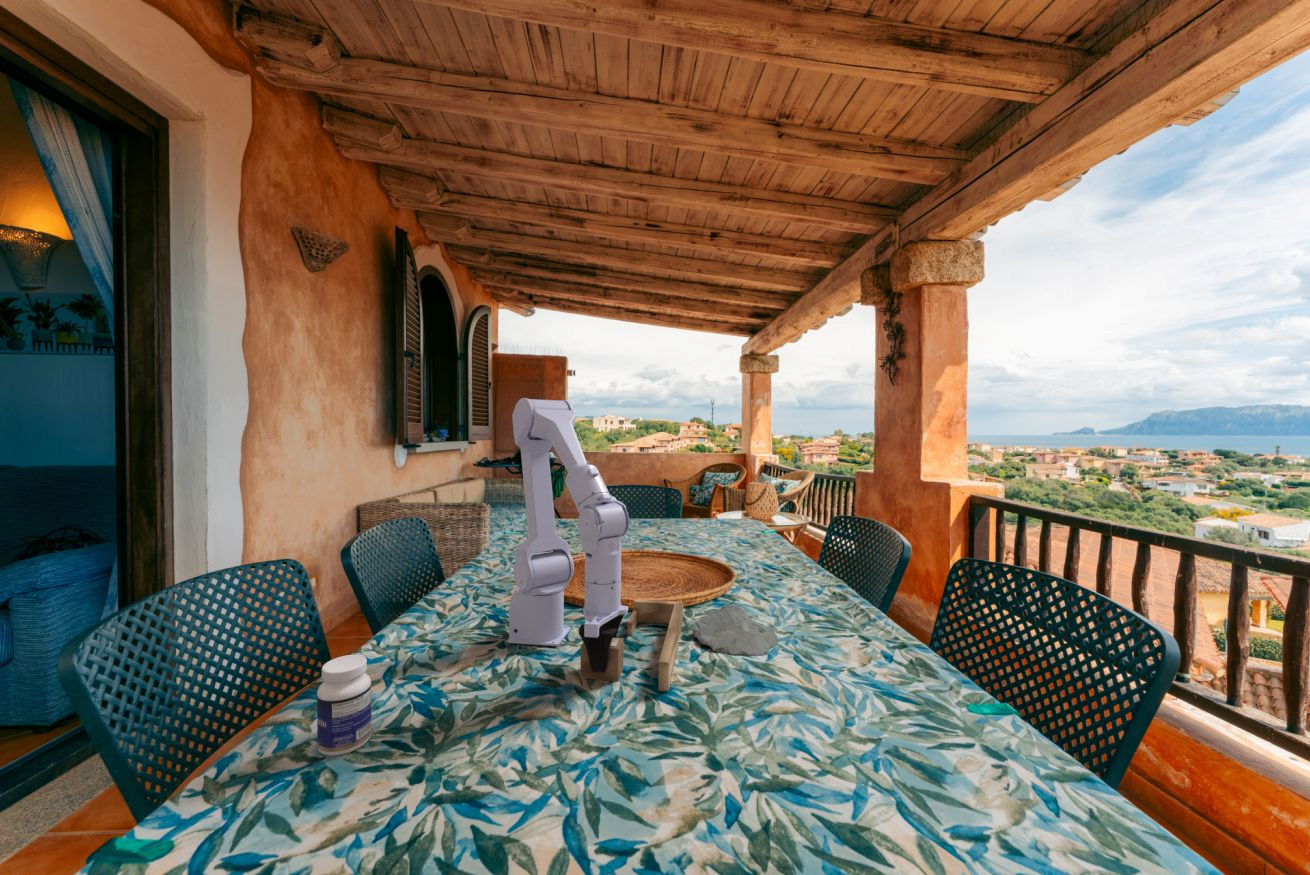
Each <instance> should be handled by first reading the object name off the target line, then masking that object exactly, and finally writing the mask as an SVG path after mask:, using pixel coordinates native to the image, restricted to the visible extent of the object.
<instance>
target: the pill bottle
mask: <svg viewBox="0 0 1310 875" xmlns="http://www.w3.org/2000/svg"><path fill="white" fill-rule="evenodd" d="M367 669H368V664H367V658H366V656H365V655H362V654H347V655H342V656H338V657H336V658H332V659H330V660H329V661H326V663H324V664H323V665H322V668H321V679H322V680H323V682H322V683H321V684H320V685H319V686H318V689H317V692H316V707H317V708H316V719H317V720H316V723H317V724H316V726H317V728H316V730H317V732H316V733H317V734H316V736H317V737H316V738H317V740H316V742H317V746H316V748H317V750H318V751H319V753H321V754H323V755H324V756H329V757H332V756H333V757H334V756H341V755H345V754H349V753H352V752H353V751H356V750H358V749H360V748H361V747H362V746H364V745H366V744H367V743H368V741H369V739H370V738H371V737H372V736H371V735H372V732H373V731H372V727H373V724H372V720H373V719H372V679H371V677H370V676H369V675H368V674H367V673H365V672H366V671H367Z"/></svg>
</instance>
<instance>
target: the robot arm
mask: <svg viewBox="0 0 1310 875" xmlns="http://www.w3.org/2000/svg"><path fill="white" fill-rule="evenodd" d="M511 417H512V428H513V430H512V432H513V438H514V444H515V445H516V446H517V447H519V448H520V457H521V467H522V469H521V470H522V477H523V478H522V479H523V489H524V490H523V491H524V502H525V512H526V525H527V535H528V536H527V538H526V539H525V540H524V541H523V542H522V543H521V544H520V545H519V546H518V547H517V548H516V550H515V551H514V565H513V578H514V582H515V585H516V586H517V588H515V589H514V590H513V592H512V594H511V597H510V600H509V607H508V608H509V609H508V610H509V611H508V612H509V613H508V614H509V617H508V618H509V619H508V622H509V623H508V627H509V629H508V630H509V631H508V632H509V634H508V639H507V643H509V644H518V645H519V644H521V645H532V646H533V645H534V646H535V645H536V646H549V647H558V646H559V645H560V644H561V642H562V641H563V640H564V638H566V636H567V635H568V633H569V632H570V631H571V627H570V626H566V625H564V615H565V614H564V612H565V610H564V609H565V607H564V604H565V603H564V602H565V598H564V596H565V594H564V593H565V589H567V588H568V583H569V582H571V580H572V578H573V576H574V573H575V572H574V571H575V564H574V559H573V558H572V555H571V551H570V546H569V543H568V542H567V541H566V540H564V539H563V538H562V537H560V536H559V535H558V534H557V527H556V517H555V507H554V495H553V485H552V475H551V466H550V465H551V464H550V453H549V452H550V451H551V449H552V447H553V449H554V451H555V452H556V454H557V455H558V457H559V459H560V461H561V462H562V464H563V465H564V468H565V469H566V471H567V475H566V477H565V481H564V482H565V485H566V488H567V490H568V491H569V493H570V496H571V499H572V501H573V502H574V504H575V507H576V509H577V511H578V514H579V516H578V520H577V522H576V524H577V530H578V534H579V535H580V539H581V541H580V542H581V548H582V551H583V552H584V606H583V608H582V609H583V612H582V614H583V616H584V621H585V622H584V623H582V624H581V625H580V626H579V627H578V634H579V637H580V638H581V640H582V643H583V642H584V644H585V646H586V649H587V653H588V657H589V662H590V666H591V670H592V672H601V673H605V671H606V668H607V664H608V657H609V650H610V646H611V642H612V639H613V637H614V638H618V637H617V636H618V633H619V630H620V629H619V628H620V626H621V623H622V621H623V619H624V617H625V615H627V614H628V612H629V606H627V605H622V594H621V593H622V538H623V537H624V536H626V534H627V533H628V531H629V527H630V517H629V516H630V515H629V512H628V510H627V506H626V505H625V503H623V502H622V501H621V500H620V501H619V500H617V498H616V496H612V495H611V494H610V492H609V490H608V488H607V486H606V484H605V482H604V480H603V478H602V475H601V473H600V471H599V470H598V468H597V466H596V465H593V464H590V463H588V462H587V460H586V456H585V455H584V451H583V449H582V446H581V444H580V441H579V439H578V436H577V433H576V431H575V425H576V417H577V416H576V413H575V411H574V407H573V406H572V404H571V402H569V400H567V399H561V400H556V399H555V400H554V399H553V400H552V399H535V398H534V399H532V398H530V399H529V398H527V397H522V398H520V399H519V400H518V401H517V402H516V404H515V406H514V410H513V411H512V415H511ZM548 551H550V552H548ZM542 552H544V553H542ZM537 553H538V554H537Z"/></svg>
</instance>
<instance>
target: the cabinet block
mask: <svg viewBox="0 0 1310 875" xmlns="http://www.w3.org/2000/svg"><path fill="white" fill-rule="evenodd" d="M624 644H625V643H624V637H616V638H614V637H613V639H612V642H611V646H610V650H609V657H608V664H607V668H606V671H605V673H601V672H592V670H591V666H590V662H589V657H588V653H587V649H586V646H585V644H584V642H583V641H582V644H580V671H579V672H580V676H579V677H580V679H587V678H588V679H587V680H589V679H590V680H599V679H600V680H601V679H602V680H601V681H612V680H615V682H618V681H619V680H620V678H621V676H622V674H623V671H624Z"/></svg>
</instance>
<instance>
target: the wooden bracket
mask: <svg viewBox="0 0 1310 875" xmlns="http://www.w3.org/2000/svg"><path fill="white" fill-rule="evenodd" d="M638 623H654V624H655V623H656V624H668V627H667V631H666V634H665V639H664V641H663V642H664V643H663V645H662V649H661V653H660V656H659V659H658V692H659V691H660V692H669V690H670V686H671V682H672V677H673V671H674V666H675V662H676V657H677V653H678V649H679V642H680V638H681V634H682V628H683V623H684V601H673V600H659V599H658V600H657V599H656V600H655V599H638V598H636V599H634V601H633V610H632V612H631V615H630V616H629V618H628V621H627V625H626V628H627V633H626V634H627V637H629V636H633V634H634V631H635V630H636V627H637V624H638Z"/></svg>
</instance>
